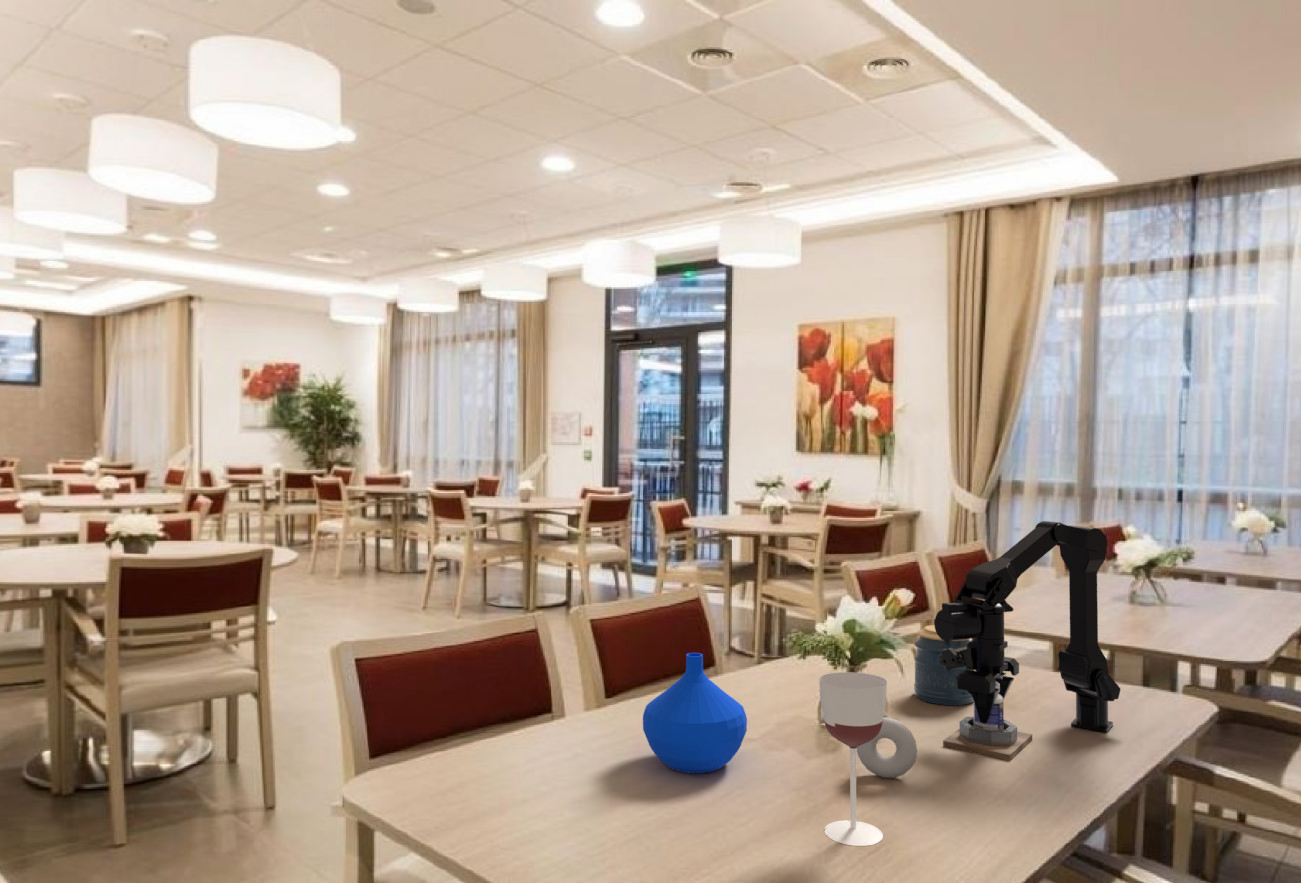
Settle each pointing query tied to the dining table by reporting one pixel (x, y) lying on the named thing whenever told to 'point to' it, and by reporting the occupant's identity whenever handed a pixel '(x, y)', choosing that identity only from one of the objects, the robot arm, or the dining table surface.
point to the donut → (900, 759)
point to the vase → (694, 722)
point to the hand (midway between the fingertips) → (988, 719)
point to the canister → (937, 670)
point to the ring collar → (988, 733)
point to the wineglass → (853, 737)
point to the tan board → (994, 751)
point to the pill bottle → (992, 715)
